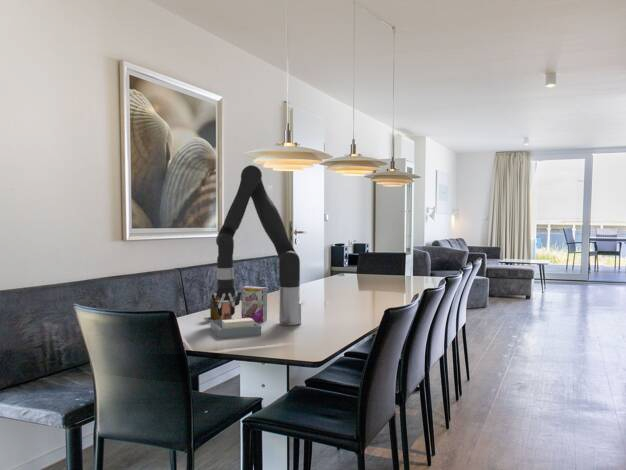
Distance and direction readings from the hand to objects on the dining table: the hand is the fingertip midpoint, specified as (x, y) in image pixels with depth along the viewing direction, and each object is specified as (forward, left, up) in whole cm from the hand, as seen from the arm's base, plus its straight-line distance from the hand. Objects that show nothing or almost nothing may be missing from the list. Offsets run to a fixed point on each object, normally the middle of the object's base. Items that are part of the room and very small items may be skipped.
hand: (226, 315), depth 228 cm
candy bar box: (-14, -2, -5) cm, 15 cm away
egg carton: (0, +21, -4) cm, 22 cm away
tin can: (0, 0, -3) cm, 3 cm away
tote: (0, +17, -5) cm, 17 cm away
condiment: (+1, -17, -5) cm, 18 cm away
